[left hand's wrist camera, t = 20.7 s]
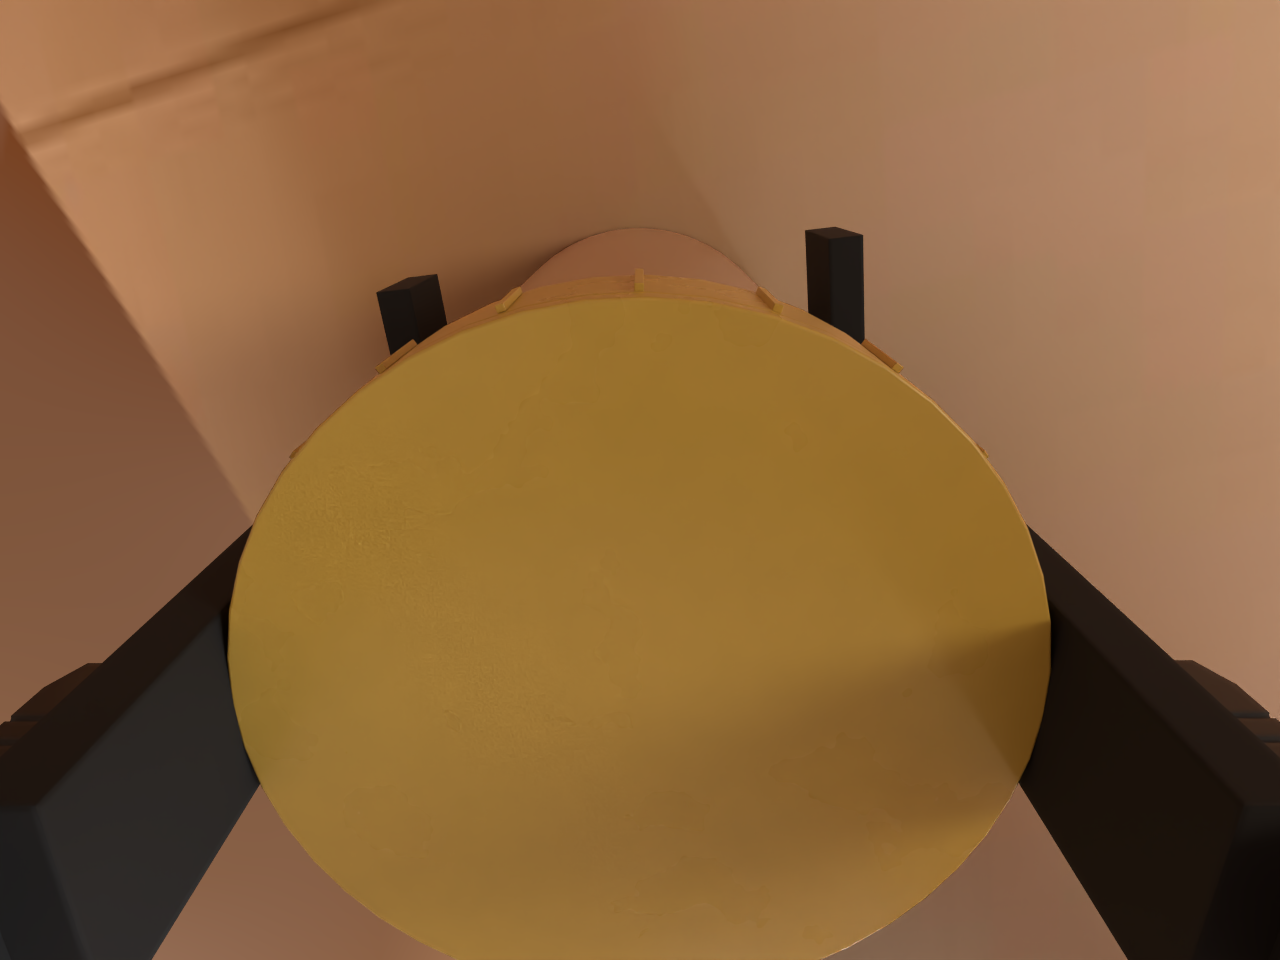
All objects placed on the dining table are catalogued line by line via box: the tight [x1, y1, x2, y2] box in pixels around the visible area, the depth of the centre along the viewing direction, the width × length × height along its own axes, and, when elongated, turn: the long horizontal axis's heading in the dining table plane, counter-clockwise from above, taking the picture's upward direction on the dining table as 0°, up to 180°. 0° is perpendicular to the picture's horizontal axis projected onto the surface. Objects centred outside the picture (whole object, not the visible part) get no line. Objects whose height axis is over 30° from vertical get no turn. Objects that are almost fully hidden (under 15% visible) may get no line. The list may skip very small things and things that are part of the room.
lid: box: [227, 269, 1051, 960], centre depth 11 cm, size 10×10×2 cm
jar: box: [520, 228, 759, 293], centre depth 19 cm, size 9×9×17 cm
